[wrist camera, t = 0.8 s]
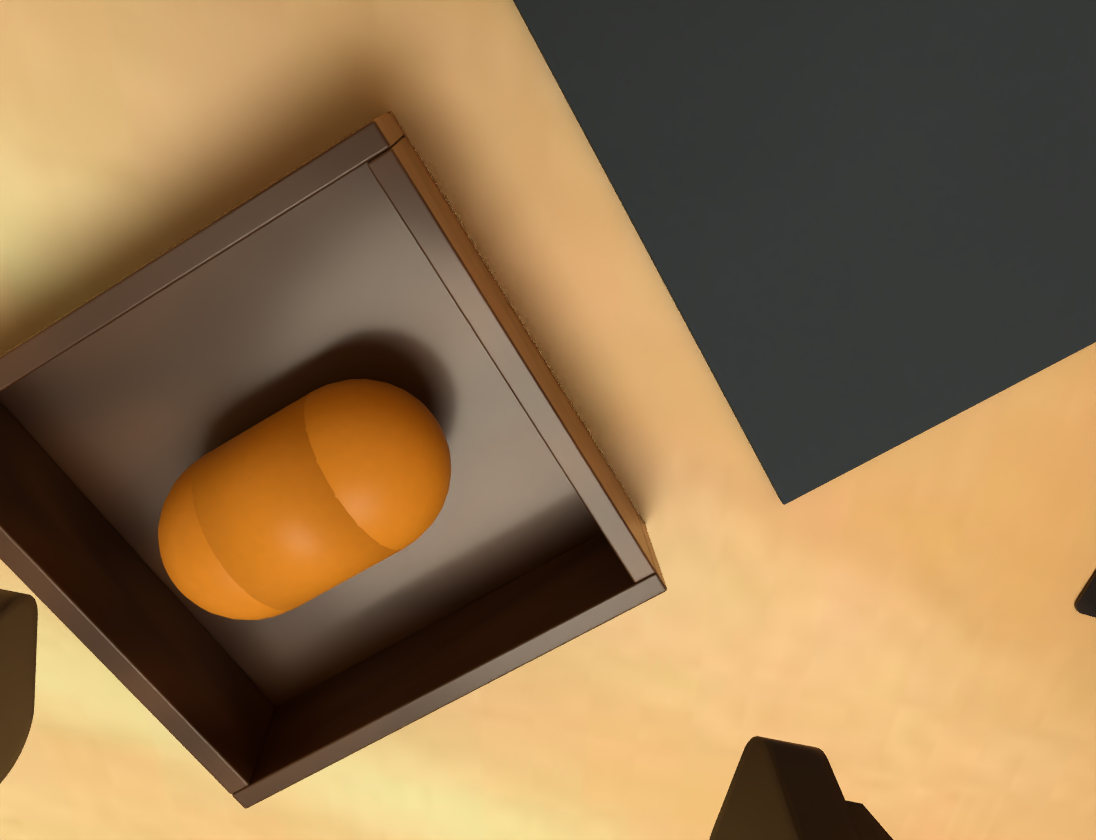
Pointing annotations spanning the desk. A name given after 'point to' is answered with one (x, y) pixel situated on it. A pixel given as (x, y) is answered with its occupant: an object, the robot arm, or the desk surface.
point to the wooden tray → (264, 389)
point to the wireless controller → (1088, 599)
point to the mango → (305, 500)
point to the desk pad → (849, 198)
